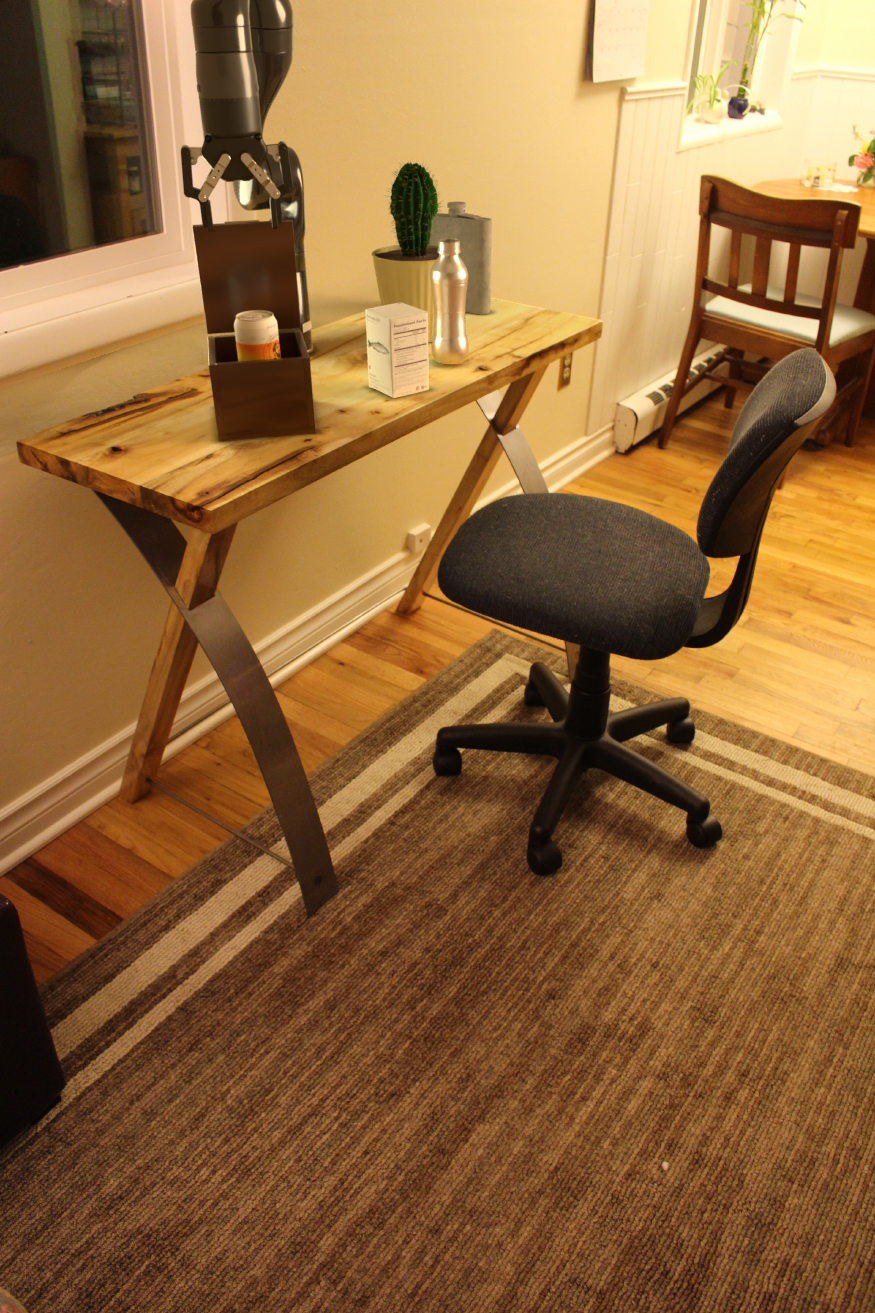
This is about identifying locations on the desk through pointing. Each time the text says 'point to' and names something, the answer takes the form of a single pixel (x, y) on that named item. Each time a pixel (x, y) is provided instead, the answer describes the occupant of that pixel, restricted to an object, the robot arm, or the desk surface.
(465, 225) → the hip flask
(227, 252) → the lid
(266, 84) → the robot arm
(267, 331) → the beer can
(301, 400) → the chest
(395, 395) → the white packaging box
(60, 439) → the desk surface
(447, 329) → the metal water bottle
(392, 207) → the potted cactus
